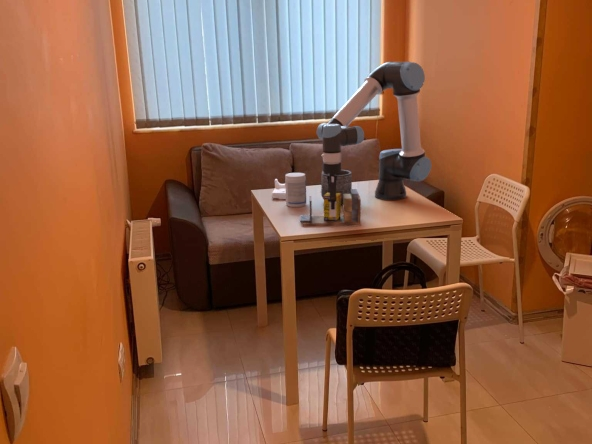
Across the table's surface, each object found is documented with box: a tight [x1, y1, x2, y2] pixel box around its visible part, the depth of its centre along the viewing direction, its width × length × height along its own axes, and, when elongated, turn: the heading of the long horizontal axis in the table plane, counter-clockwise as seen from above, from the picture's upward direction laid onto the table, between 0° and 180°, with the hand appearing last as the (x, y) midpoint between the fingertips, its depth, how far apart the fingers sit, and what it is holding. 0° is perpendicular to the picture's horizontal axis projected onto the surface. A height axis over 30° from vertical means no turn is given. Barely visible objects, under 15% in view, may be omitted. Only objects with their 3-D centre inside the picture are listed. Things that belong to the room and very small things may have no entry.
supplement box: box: [323, 192, 342, 221], centre depth 248 cm, size 6×6×11 cm
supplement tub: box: [284, 172, 307, 208], centre depth 275 cm, size 10×10×15 cm
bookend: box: [299, 195, 313, 223], centre depth 249 cm, size 5×8×9 cm, turn 179°
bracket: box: [271, 178, 286, 200], centre depth 293 cm, size 13×7×8 cm, turn 174°
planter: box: [320, 169, 353, 207], centre depth 277 cm, size 14×14×15 cm
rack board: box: [301, 188, 362, 227], centre depth 248 cm, size 24×11×13 cm, turn 89°
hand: (332, 212), depth 249 cm, fingers open, 13 cm apart
